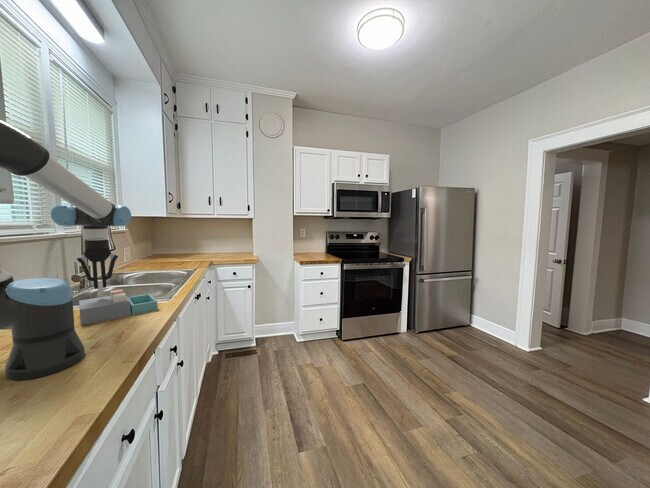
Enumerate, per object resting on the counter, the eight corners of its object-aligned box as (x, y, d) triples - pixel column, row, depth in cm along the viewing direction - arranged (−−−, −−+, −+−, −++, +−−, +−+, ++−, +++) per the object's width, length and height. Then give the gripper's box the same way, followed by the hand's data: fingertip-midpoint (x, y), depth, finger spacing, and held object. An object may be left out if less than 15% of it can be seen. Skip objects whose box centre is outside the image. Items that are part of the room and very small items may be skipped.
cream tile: (113, 302, 106) (113, 296, 105) (112, 300, 109) (112, 294, 108) (126, 300, 108) (125, 294, 108) (124, 298, 111) (124, 292, 111)
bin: (132, 315, 109) (131, 305, 109) (126, 306, 119) (126, 297, 119) (157, 309, 115) (157, 301, 115) (150, 302, 125) (149, 293, 125)
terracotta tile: (111, 298, 111) (111, 293, 110) (110, 296, 114) (110, 290, 113) (123, 296, 113) (123, 291, 113) (122, 294, 116) (122, 289, 116)
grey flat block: (81, 325, 98) (80, 309, 98) (80, 314, 108) (78, 300, 108) (130, 315, 109) (129, 301, 108) (125, 306, 119) (124, 293, 118)
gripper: (115, 237, 114) (119, 291, 117) (74, 239, 105) (79, 296, 108) (118, 239, 109) (122, 294, 112) (74, 240, 100) (80, 301, 103)
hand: (101, 295), depth 110 cm, fingers closed
